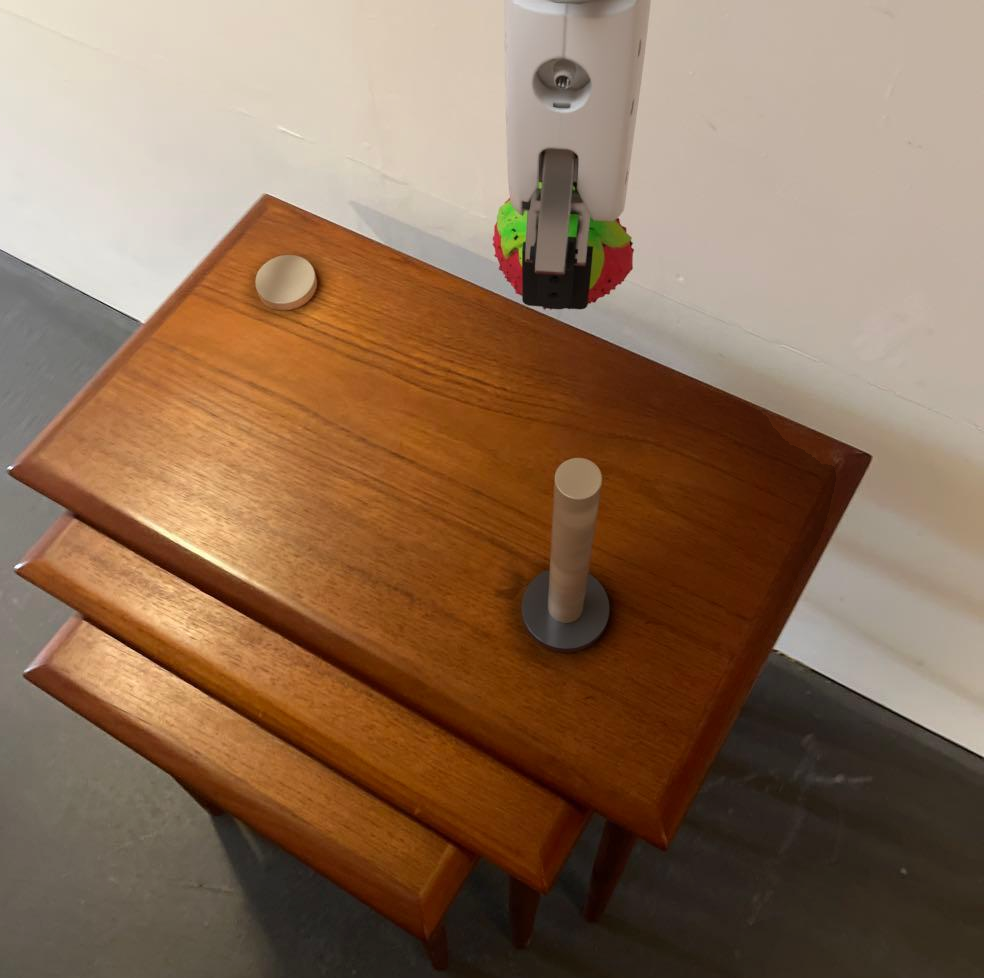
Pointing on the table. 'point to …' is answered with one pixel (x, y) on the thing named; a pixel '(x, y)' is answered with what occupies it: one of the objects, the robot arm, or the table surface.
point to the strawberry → (604, 236)
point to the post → (569, 567)
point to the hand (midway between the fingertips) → (562, 245)
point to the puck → (286, 282)
